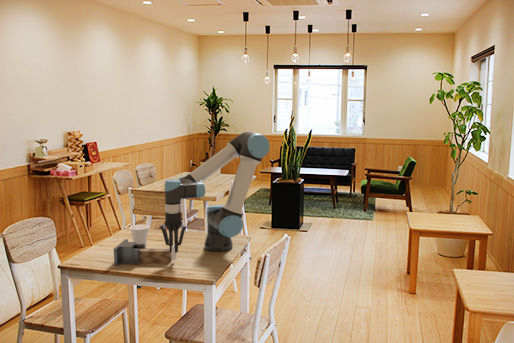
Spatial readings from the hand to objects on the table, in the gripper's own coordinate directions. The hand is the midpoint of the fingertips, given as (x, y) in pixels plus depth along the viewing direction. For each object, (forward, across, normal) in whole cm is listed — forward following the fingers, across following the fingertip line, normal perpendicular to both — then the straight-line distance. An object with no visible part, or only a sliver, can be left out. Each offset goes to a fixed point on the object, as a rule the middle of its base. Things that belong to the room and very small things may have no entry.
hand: (174, 258), depth 248 cm
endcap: (+2, +22, 0) cm, 22 cm away
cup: (+2, +25, -22) cm, 33 cm away
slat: (+2, +11, -1) cm, 11 cm away
